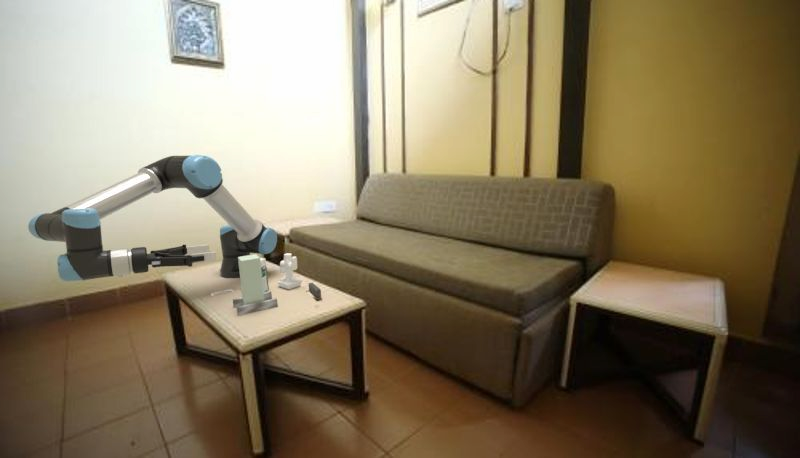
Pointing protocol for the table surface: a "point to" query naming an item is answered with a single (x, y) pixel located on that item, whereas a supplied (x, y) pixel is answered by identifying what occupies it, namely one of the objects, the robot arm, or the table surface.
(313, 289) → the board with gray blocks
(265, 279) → the syrup box
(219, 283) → the table surface
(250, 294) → the block
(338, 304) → the table surface
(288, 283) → the figurine
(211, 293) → the phone case
